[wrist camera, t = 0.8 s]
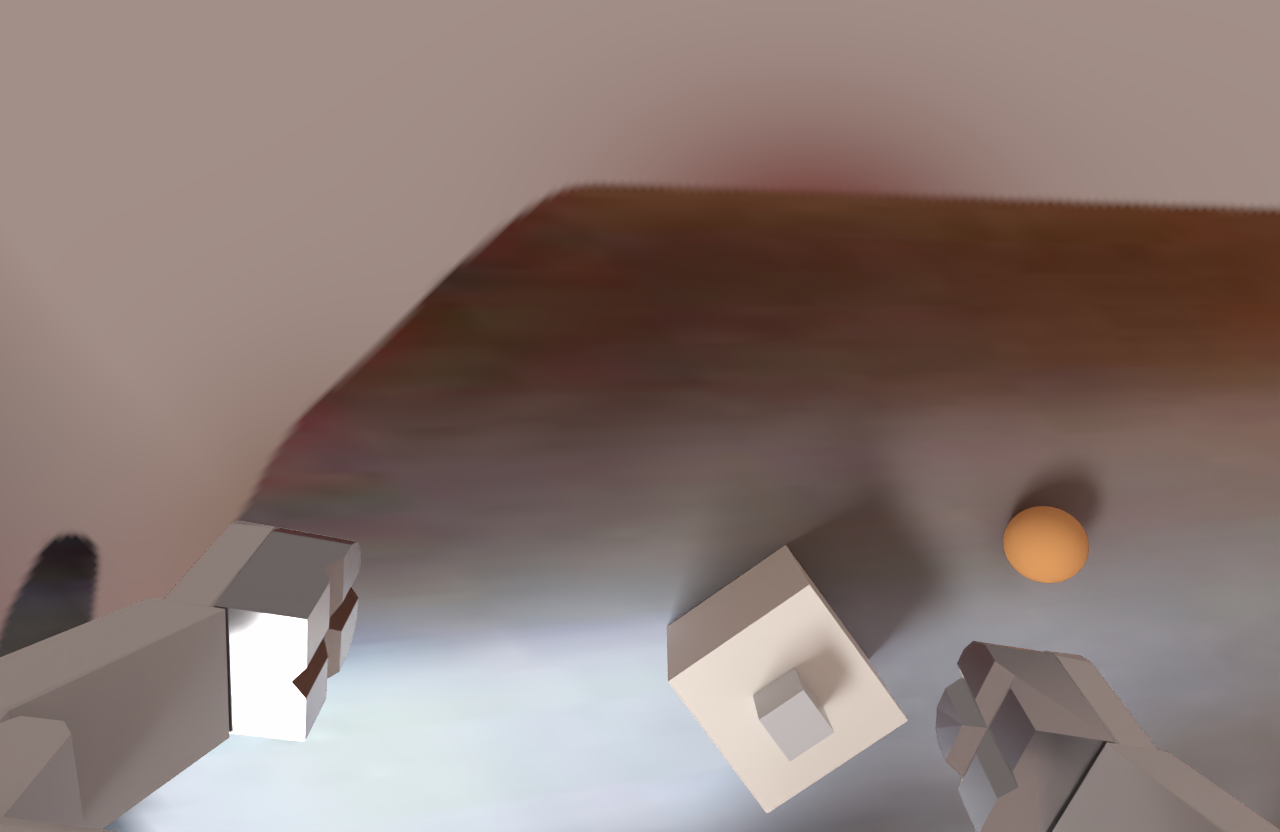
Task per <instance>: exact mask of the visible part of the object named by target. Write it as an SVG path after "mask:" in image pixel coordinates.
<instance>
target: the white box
mask: <svg viewBox="0 0 1280 832" xmlns="http://www.w3.org/2000/svg"><path fill="white" fill-rule="evenodd" d="M667 658H668V682H669V683H670V685H671V686H672V687H673V689H674V690H675V692H676V693H677V694H678V696H679V697H680V698H681V700H682V701H683V702H684V704H685V705H686V706H687V708H688V709H689V710H690V712H691V713H692V714H693V716H694V717H695V718H696V720H697V721H698V722H699V724H700V725H701V726H702V728H703V729H704V730H705V732H706V733H707V734H708V736H709V737H710V738H711V740H712V741H713V742H714V744H715V745H716V746H717V748H718V749H719V750H720V752H721V753H722V754H723V756H724V757H725V758H726V760H727V761H728V762H729V764H730V765H731V766H732V768H733V769H734V770H735V772H736V773H737V774H738V776H739V777H740V778H741V780H742V781H743V782H744V784H745V785H746V786H747V788H748V789H749V790H750V792H751V793H752V794H753V796H754V797H755V798H756V800H757V801H758V802H759V804H760V805H761V807H762V808H763V809H764V811H765V812H766V813H769V812H770V811H772V810H773V809H775V808H776V807H778V806H780V805H781V804H783V803H784V802H786V801H787V800H789V799H790V798H792V797H793V796H795V795H796V794H798V793H799V792H801V791H802V790H804V789H805V788H807V787H808V786H810V785H811V784H813V783H814V782H816V781H817V780H819V779H820V778H822V777H823V776H825V775H826V774H828V773H830V772H831V771H833V770H834V769H836V768H837V767H839V766H840V765H842V764H843V763H845V762H846V761H848V760H849V759H851V758H852V757H854V756H855V755H857V754H858V753H860V752H861V751H863V750H864V749H866V748H867V747H869V746H870V745H872V744H873V743H875V742H876V741H878V740H880V739H881V738H883V737H884V736H886V735H887V734H889V733H890V732H892V731H893V730H895V729H896V728H898V727H899V726H901V725H902V724H904V723H905V722H907V721H908V720H907V718H906V717H905V715H904V713H903V712H902V710H901V709H900V707H899V706H898V704H897V703H896V701H895V699H894V698H893V696H892V695H891V693H890V692H889V690H888V689H887V687H886V685H885V684H884V682H883V681H882V679H881V678H880V676H879V675H878V673H877V672H876V670H875V668H874V667H873V665H872V664H871V662H870V661H869V659H868V658H867V656H866V655H865V654H864V652H863V651H862V650H861V648H860V647H859V645H858V644H857V643H856V641H855V640H854V638H853V637H852V636H851V634H850V633H849V632H848V630H847V629H846V627H845V626H844V625H843V623H842V622H841V621H840V619H839V618H838V616H837V615H836V614H835V612H834V611H833V609H832V608H831V607H830V605H829V604H828V603H827V601H826V600H825V598H824V597H823V596H822V594H821V593H820V592H819V590H818V589H817V587H816V586H815V585H814V583H813V582H812V580H811V579H810V578H809V576H808V575H807V574H806V572H805V571H804V569H803V568H802V567H801V565H800V564H799V563H798V561H797V560H796V558H795V557H794V556H793V554H792V553H791V551H790V550H789V549H788V547H787V546H786V545H784V546H783V547H782V548H780V549H779V550H777V551H776V552H774V553H773V554H771V555H770V556H769V557H767V558H766V559H764V560H763V561H761V562H760V563H758V564H757V565H756V566H754V567H753V568H751V569H750V570H748V571H747V572H745V573H744V574H743V575H741V576H740V577H738V578H737V579H735V580H734V581H732V582H731V583H729V584H728V585H727V586H725V587H724V588H722V589H721V590H719V591H718V592H716V593H715V594H714V595H712V596H711V597H709V598H708V599H706V600H705V601H703V602H702V603H701V604H699V605H698V606H696V607H695V608H693V609H692V610H690V611H689V612H688V613H686V614H685V615H683V616H682V617H680V618H679V619H677V620H676V621H675V622H673V623H672V624H670V625H669V626H667Z"/></svg>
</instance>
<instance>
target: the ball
mask: <svg viewBox="0 0 1280 832" xmlns="http://www.w3.org/2000/svg"><path fill="white" fill-rule="evenodd" d="M1003 546H1004V551H1005V554H1006V557H1007V559H1008V560H1009V562H1010V564H1011V565H1012V566H1013V567H1014V568H1015V569H1016V570H1017V571H1018V572H1019V573H1020V574H1022V575H1023V576H1025V577H1027V578H1029V579H1031V580H1034V581H1037V582H1042V583H1056V582H1061V581H1064V580H1067V579H1069V578H1071V577H1073V576H1074V575H1075V574H1077V573H1078V572H1079V571H1080V570H1081V568H1082V567H1083V566H1084V564H1085V562H1086V560H1087V557H1088V552H1089V544H1088V538H1087V535H1086V533H1085V531H1084V529H1083V527H1082V526H1081V524H1080V523H1079V522H1078V521H1077V520H1076V519H1075V518H1074V517H1073V516H1071V515H1070V514H1069V513H1067V512H1065V511H1063V510H1061V509H1058V508H1054V507H1049V506H1037V507H1032V508H1028V509H1026V510H1023V511H1022V512H1020V513H1018V514H1017V515H1016V516H1015V517H1014V518H1013V519H1012V520H1011V521H1010V522H1009V524H1008V525H1007V527H1006V530H1005V533H1004V538H1003Z"/></svg>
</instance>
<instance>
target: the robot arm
mask: <svg viewBox="0 0 1280 832" xmlns="http://www.w3.org/2000/svg"><path fill="white" fill-rule="evenodd" d="M360 549H361V548H360V546H359V544H358V542H357V541H351V540H346V539H340V538H335V537H329V536H324V535H318V534H313V533H307V532H302V531H296V530H291V529H285V528H276V527H273V526H267V525H261V524H255V523H249V522H243V521H237V522H234V523H231V524H230V525H228V526H227V527H226V528H225V530H224V531H223V532H222V533H221V534H220V535H219V536H218V537H217V539H216V540H215V541H214V542H213V543H212V544H211V545H210V547H209V548H208V549H207V550H206V551H205V552H204V553H203V554H202V556H201V557H200V558H199V559H198V560H197V561H196V562H195V563H194V565H193V566H192V567H191V568H190V569H189V570H188V571H187V573H186V574H185V575H184V576H183V577H182V578H181V579H180V580H179V582H178V583H177V584H176V585H175V586H174V587H173V589H171V591H170V592H169V593H168V594H167V595H166V596H165V597H164V599H156V598H148V599H145V600H143V601H140V602H138V603H135V604H133V605H130V606H128V607H125V608H123V609H120V610H118V611H115V612H113V613H110V614H108V615H105V616H103V617H101V618H98V619H95V620H93V621H90V622H88V623H85V624H83V625H80V626H78V627H75V628H73V629H70V630H68V631H65V632H63V633H60V634H58V635H55V636H53V637H50V638H48V639H45V640H43V641H40V642H38V643H35V644H33V645H30V646H28V647H25V648H23V649H21V650H18V651H16V652H13V653H11V654H8V655H6V656H3V657H1V658H0V832H116V831H109V830H101V829H103V828H104V827H106V826H107V825H108V824H110V823H111V822H113V821H114V820H115V819H117V818H118V817H119V816H121V815H122V814H124V813H125V812H126V811H128V810H129V809H131V808H132V807H133V806H135V805H136V804H138V803H139V802H140V801H142V800H143V799H144V798H146V797H147V796H149V795H150V794H151V793H153V792H154V791H156V790H157V789H158V788H160V787H161V786H162V785H164V784H165V783H167V782H168V781H169V780H171V779H172V778H174V777H175V776H176V775H178V774H179V773H181V772H182V771H183V770H185V769H186V768H187V767H189V766H190V765H192V764H193V763H194V762H196V761H197V760H199V759H200V758H201V757H203V756H204V755H206V754H207V753H208V752H210V751H211V750H212V749H214V748H215V747H217V746H218V745H219V744H221V743H222V742H224V741H225V740H226V739H228V738H229V733H233V734H242V735H251V736H260V737H269V738H278V739H287V740H296V741H305V740H306V738H307V736H308V734H309V732H310V730H311V728H312V726H313V724H314V722H315V720H316V718H317V716H318V714H319V712H320V710H321V708H322V706H323V704H324V702H325V700H326V690H327V678H329V677H331V676H332V675H334V674H336V673H338V672H339V671H340V669H341V667H342V665H343V662H344V660H345V658H346V656H347V654H348V651H349V647H350V644H351V641H352V638H353V634H354V631H355V625H356V619H357V613H358V599H359V598H358V596H357V595H356V593H355V592H354V591H353V589H352V588H351V586H352V584H353V582H354V580H355V578H356V576H357V574H358V572H359V571H360ZM957 665H958V667H959V670H960V673H961V676H962V678H961V679H959V680H958V681H956V682H954V683H953V684H951V685H950V686H948V687H947V688H945V690H944V693H943V695H942V698H941V700H940V702H939V705H938V707H937V718H936V733H937V738H938V744H939V747H940V749H941V751H942V754H943V756H944V759H945V761H946V762H947V763H948V764H949V765H951V766H952V767H953V768H954V769H955V770H956V771H957V772H958V773H959V774H960V775H961V776H962V780H961V782H960V785H959V788H958V792H959V794H960V796H961V798H962V801H963V803H964V805H965V808H966V810H967V812H968V814H969V817H970V819H971V821H972V824H973V826H974V828H975V831H976V832H1280V830H1279V829H1278V828H1276V827H1275V826H1274V825H1272V824H1271V823H1269V822H1268V821H1266V820H1265V819H1264V818H1262V817H1261V816H1259V815H1258V814H1256V813H1255V812H1254V811H1252V810H1251V809H1249V808H1248V807H1246V806H1245V805H1244V804H1242V803H1241V802H1239V801H1238V800H1236V799H1235V798H1234V797H1232V796H1231V795H1229V794H1228V793H1226V792H1225V791H1224V790H1222V789H1221V788H1219V787H1218V786H1216V785H1215V784H1214V783H1212V782H1211V781H1209V780H1208V779H1206V778H1205V777H1204V776H1202V775H1201V774H1199V773H1198V772H1196V771H1195V770H1194V769H1192V768H1191V767H1189V766H1188V765H1186V764H1185V763H1184V762H1182V761H1181V760H1179V759H1178V758H1177V757H1175V756H1174V755H1172V754H1171V753H1169V752H1165V751H1159V750H1157V749H1156V748H1155V746H1154V745H1153V744H1152V742H1151V741H1150V740H1149V738H1148V737H1147V736H1146V734H1145V733H1144V732H1143V730H1142V729H1141V728H1140V726H1139V725H1138V724H1137V722H1136V721H1135V720H1134V718H1133V717H1132V716H1131V714H1130V713H1129V712H1128V710H1127V709H1126V708H1125V706H1124V705H1123V703H1122V702H1121V701H1120V699H1119V698H1118V697H1117V695H1116V694H1115V693H1114V691H1113V690H1112V689H1111V687H1110V686H1109V685H1108V683H1107V682H1106V681H1105V679H1104V678H1103V677H1102V675H1101V674H1100V673H1099V671H1098V670H1097V669H1096V667H1095V666H1094V665H1093V663H1092V662H1090V661H1089V660H1087V659H1086V658H1084V657H1082V656H1080V655H1073V654H1065V653H1058V652H1050V651H1044V652H1041V651H1034V650H1028V649H1021V648H1015V647H1008V646H1002V645H995V644H989V643H983V642H976V641H973V642H971V643H970V644H969V645H968V646H967V647H966V648H965V649H964V651H963V653H962V655H961V657H960V659H959V661H958V663H957Z"/></svg>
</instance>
